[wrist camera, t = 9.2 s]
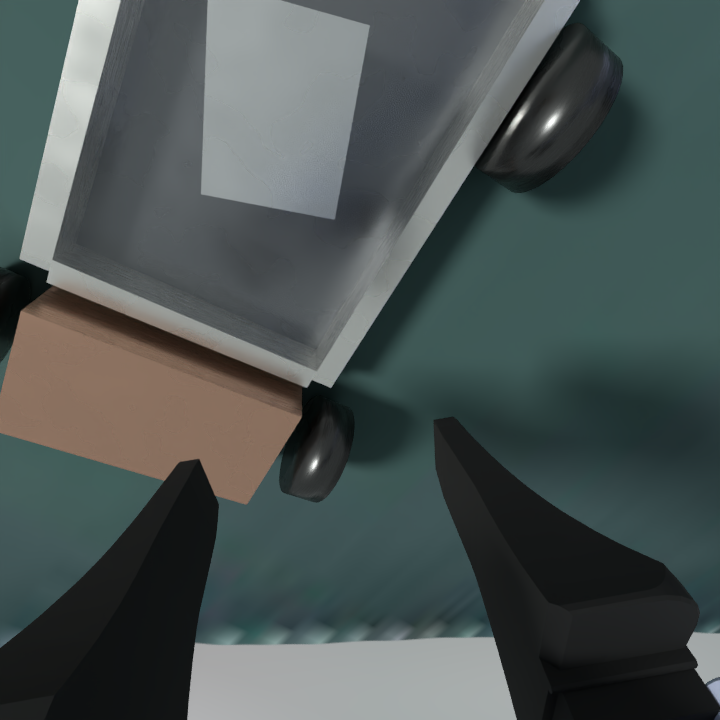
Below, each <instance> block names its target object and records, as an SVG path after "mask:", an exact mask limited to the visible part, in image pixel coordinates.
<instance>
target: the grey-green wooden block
mask: <svg viewBox="0 0 720 720" xmlns="http://www.w3.org/2000/svg"><path fill="white" fill-rule="evenodd" d="M369 28H370V25H367V24H363V23H360V22H356V21H352V20H349V19H345V18H342V17H338V16H335V15H331V14H328V13H324V12H321V11H317V10H314V9H310V8H306V7H303V6H299V5H296V4H292V3H289V2H285V1H282V0H208V6H207V35H206V64H205V92H204V121H203V150H202V179H201V194H202V195H208V196H213V197H218V198H223V199H229V200H234V201H239V202H244V203H249V204H255V205H260V206H265V207H270V208H276V209H281V210H286V211H291V212H296V213H302V214H307V215H312V216H317V217H323V218H328V219H333V220H335V215H336V210H337V204H338V199H339V193H340V188H341V182H342V177H343V171H344V166H345V160H346V155H347V149H348V143H349V138H350V132H351V127H352V121H353V116H354V110H355V105H356V99H357V94H358V88H359V83H360V77H361V72H362V66H363V61H364V55H365V50H366V44H367V39H368V33H369Z"/></svg>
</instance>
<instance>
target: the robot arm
mask: <svg viewBox="0 0 720 720" xmlns="http://www.w3.org/2000/svg"><path fill="white" fill-rule="evenodd" d="M434 442H435V464H436V471H437V475H438V478H439V482H440V485H441V489H442V492H443V496H444V499H445V501H446V504H447V506H448V509H449V511H450V514H451V516H452V519H453V521H454V524H455V526H456V528H457V531H458V533H459V536H460V538H461V540H462V543H463V545H464V548H465V550H466V553H467V555H468V557H469V560H470V562H471V565H472V568H473V570H474V573H475V576H476V579H477V582H478V585H479V588H480V592H481V595H482V598H483V601H484V605H485V608H486V611H487V615H488V618H489V621H490V625H491V628H492V632H493V635H494V638H495V642H496V645H497V649H498V652H499V656H500V659H501V663H502V667H503V670H504V674H505V677H506V681H507V684H508V688H509V691H510V695H511V699H512V703H513V707H514V710H515V714H516V718H517V720H720V677H718V678H715V679H713V680H711V681H709V682H707V683H706V684H704V682H703V681H702V679H701V678H700V676H699V675H698V673H697V672H696V670H695V669H694V668H697V666H698V664H697V661H696V659H695V658H694V656H693V655H692V654H691V652H690V650H689V649H688V648H687V646H686V644H687V643H688V641H689V639H690V637H691V635H692V633H693V631H694V629H695V627H696V625H697V622H698V618H699V614H700V612H699V608H698V605H697V603H696V602H695V601H694V600H693V598H692V597H691V596H690V594H689V593H688V592H687V590H686V589H685V588H684V586H683V585H682V584H681V583H680V582H679V580H678V579H677V578H676V577H675V576H674V575H673V574H672V573H671V572H670V571H669V570H668V568H667V567H666V566H665V565H664V564H663V563H661V562H659V561H656V560H654V559H652V558H650V557H648V556H645V555H643V554H641V553H639V552H637V551H634V550H632V549H630V548H628V547H625V546H623V545H621V544H619V543H617V542H615V541H613V540H611V539H610V538H608V537H606V536H604V535H602V534H600V533H598V532H596V531H594V530H593V529H591V528H589V527H587V526H586V525H584V524H582V523H581V522H579V521H577V520H576V519H574V518H572V517H571V516H569V515H567V514H566V513H564V512H562V511H561V510H559V509H558V508H556V507H555V506H553V505H552V504H550V503H549V502H548V501H546V500H545V499H543V498H542V497H541V496H539V495H538V494H536V493H535V492H534V491H532V490H531V489H530V488H528V487H527V486H526V485H525V484H523V483H522V482H521V481H520V480H518V479H517V478H516V477H515V476H514V475H512V474H511V473H510V472H509V471H508V470H507V469H505V468H504V467H503V466H502V465H501V464H500V463H499V462H498V461H497V460H496V459H495V458H493V457H492V456H491V455H490V454H489V453H488V452H487V451H486V450H485V449H484V448H483V447H482V446H481V445H480V444H479V443H478V442H477V441H476V440H475V439H474V438H473V437H472V436H471V435H470V434H469V433H468V432H467V430H466V429H465V428H464V427H463V426H462V425H461V424H460V423H459V421H458V420H457V419H456V418H454V417H449V418H443V419H437V420H434ZM218 509H219V504H218V501H217V499H216V497H215V494H214V492H213V490H212V487H211V485H210V483H209V480H208V478H207V476H206V473H205V471H204V469H203V466H202V464H201V462H200V459H194V460H188V461H182V462H179V463H178V464H177V465H176V467H175V468H174V469H173V471H172V472H171V473H170V474H169V476H168V477H167V478H166V480H165V481H164V482H163V484H162V485H161V486H160V488H159V489H158V490H157V492H156V493H155V494H154V495H153V497H152V498H151V499H150V501H149V502H148V503H147V504H146V506H145V507H144V508H143V510H142V511H141V512H140V513H139V515H138V516H137V517H136V518H135V520H134V521H133V522H132V523H131V524H130V526H129V527H128V528H127V529H126V530H125V531H124V533H123V534H122V535H121V536H120V537H119V538H118V540H117V541H116V542H115V543H114V544H113V545H112V547H111V548H110V549H109V550H108V551H107V552H106V553H105V554H104V555H103V556H102V558H101V559H100V560H99V561H98V562H97V563H96V564H95V565H94V566H93V567H92V568H91V569H90V570H89V571H88V572H87V573H86V574H85V575H84V576H83V577H82V578H81V579H80V580H79V581H78V582H77V583H76V584H75V585H74V586H73V587H71V588H70V589H69V590H68V591H67V592H66V593H65V594H64V595H63V596H62V597H60V598H59V599H58V600H57V601H56V602H55V603H54V604H53V605H52V606H50V607H49V608H48V609H47V610H46V611H45V612H44V613H43V614H42V615H40V616H39V617H38V618H37V619H36V620H34V621H33V622H32V623H31V624H30V625H28V626H27V627H26V628H25V629H24V630H22V631H21V632H20V633H19V634H17V635H16V636H15V637H14V638H12V639H11V640H10V641H9V642H7V643H6V644H5V645H3V646H2V647H1V648H0V720H187V714H188V701H189V691H190V680H191V671H192V661H193V653H194V645H195V637H196V629H197V623H198V617H199V612H200V607H201V603H202V598H203V594H204V589H205V585H206V580H207V576H208V571H209V567H210V563H211V558H212V553H213V549H214V544H215V539H216V532H217V522H218Z"/></svg>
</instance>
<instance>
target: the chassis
mask: <svg viewBox="0 0 720 720" xmlns="http://www.w3.org/2000/svg"><path fill="white" fill-rule="evenodd" d="M282 1H285V2H289V3H292V4H296V5H299V6H303V7H306V8H310V9H314V10H317V11H321V12H324V13H328V14H331V15H335V16H338V17H342V18H345V19H349V20H352V21H356V22H360V23H363V24H367V25H370V28H369V33H368V39H367V44H366V50H365V55H364V61H363V66H362V72H361V77H360V83H359V88H358V94H357V99H356V105H355V110H354V116H353V121H352V127H351V132H350V138H349V143H348V149H347V155H346V160H345V166H344V171H343V177H342V182H341V188H340V193H339V199H338V204H337V210H336V215H335V220H333V219H328V218H323V217H317V216H312V215H307V214H302V213H296V212H291V211H286V210H281V209H276V208H270V207H265V206H260V205H255V204H249V203H244V202H239V201H234V200H229V199H223V198H218V197H213V196H208V195H202V194H201V179H202V150H203V121H204V92H205V64H206V35H207V6H208V0H79V2H78V6H77V11H76V15H75V19H74V24H73V28H72V32H71V37H70V41H69V45H68V50H67V54H66V59H65V63H64V67H63V72H62V76H61V80H60V85H59V89H58V93H57V98H56V102H55V106H54V111H53V115H52V119H51V124H50V128H49V132H48V137H47V141H46V145H45V150H44V154H43V159H42V163H41V167H40V172H39V176H38V180H37V185H36V189H35V193H34V198H33V202H32V206H31V211H30V215H29V219H28V224H27V228H26V232H25V237H24V241H23V246H22V250H21V254H20V259H21V260H23V261H26V262H28V263H30V264H33V265H35V266H38V267H40V268H42V269H45V270H47V271H49V274H48V278H47V281H46V283H49V284H51V285H53V286H52V287H51V288H50V289H48V290H47V291H46V292H44V293H43V294H42V295H41V296H39V297H38V298H37V299H35V300H34V301H33V302H32V303H30V304H29V301H30V284H29V281H28V279H27V278H26V277H24V276H22V275H19V274H17V273H14V272H12V271H9V270H7V269H4V268H2V267H0V363H1V361H2V360H3V358H4V357H5V356H6V354H7V353H8V351H9V349H10V348H11V346H12V349H11V353H10V357H9V362H8V366H7V370H6V374H5V378H4V382H3V386H2V390H1V394H0V433H3V434H6V435H10V436H13V437H16V438H20V439H23V440H27V441H30V442H34V443H37V444H40V445H44V446H47V447H51V448H54V449H58V450H61V451H64V452H68V453H71V454H75V455H78V456H82V457H85V458H88V459H92V460H95V461H99V462H102V463H106V464H109V465H112V466H116V467H119V468H123V469H126V470H130V471H133V472H136V473H140V474H143V475H147V476H150V477H154V478H157V479H160V480H164V481H165V480H166V478H167V477H168V476H169V474H170V473H171V472H172V471H173V469H174V468H175V467H176V465H177V464H178V463H179V462H182V461H188V460H194V459H200V462H201V464H202V466H203V469H204V471H205V473H206V476H207V478H208V480H209V483H210V485H211V487H212V490H213V492H214V494H215V496H219V497H222V498H225V499H229V500H232V501H236V502H239V503H243V504H246V505H247V504H248V502H249V500H250V499H251V497H252V496H253V494H254V492H255V491H256V489H257V488H258V486H259V484H260V483H261V481H262V480H263V478H264V477H265V475H266V473H267V472H268V470H269V469H270V467H271V465H272V464H273V462H274V461H275V459H276V457H277V456H278V454H279V453H280V451H281V450H282V448H283V446H284V445H285V443H286V442H287V444H286V447H285V451H284V454H283V458H282V462H281V468H280V476H279V483H280V488H281V491H282V492H283V493H286V494H289V495H292V496H295V497H299V498H302V499H305V500H308V501H312V502H316V503H317V502H320V501H322V500H323V499H325V498H326V497H327V496H328V495H329V494H330V492H331V491H332V490H333V488H334V487H335V485H336V484H337V482H338V480H339V478H340V476H341V474H342V472H343V470H344V468H345V465H346V462H347V460H348V457H349V454H350V450H351V446H352V441H353V436H354V416H353V412H352V410H351V409H350V408H349V407H347V406H344V405H342V404H339V403H337V402H334V401H332V400H329V399H327V398H324V397H322V396H315V397H314V398H312V399H311V400H310V401H309V402H308V403H307V405H306V406H305V407H304V409H303V410H302V386H303V387H306V388H307V387H308V385H309V384H310V382H311V380H313V381H316V382H318V383H320V384H323V385H325V386H328V387H330V388H331V387H332V386H333V384H334V383H335V381H336V379H337V378H338V376H339V375H340V373H341V372H342V370H343V369H344V367H345V365H346V364H347V362H348V361H349V359H350V358H351V356H352V355H353V353H354V351H355V350H356V348H357V347H358V345H359V344H360V342H361V341H362V339H363V337H364V336H365V334H366V333H367V331H368V330H369V328H370V327H371V325H372V323H373V322H374V320H375V319H376V317H377V316H378V314H379V313H380V311H381V309H382V308H383V306H384V305H385V303H386V302H387V300H388V299H389V297H390V295H391V294H392V292H393V291H394V289H395V288H396V286H397V285H398V283H399V281H400V280H401V278H402V277H403V275H404V274H405V272H406V271H407V269H408V267H409V266H410V264H411V263H412V261H413V260H414V258H415V257H416V255H417V253H418V252H419V250H420V249H421V247H422V246H423V244H424V243H425V241H426V239H427V238H428V236H429V235H430V233H431V232H432V230H433V229H434V227H435V225H436V224H437V222H438V221H439V219H440V218H441V216H442V215H443V213H444V211H445V210H446V208H447V207H448V205H449V204H450V202H451V201H452V199H453V197H454V196H455V194H456V193H457V191H458V190H459V188H460V187H461V185H462V184H463V182H464V180H465V179H466V177H467V176H468V174H469V173H470V171H471V170H472V168H473V166H474V165H475V166H476V167H477V168H478V169H479V170H481V171H482V172H484V173H485V174H487V175H488V176H490V177H491V178H492V179H494V180H495V181H497V182H498V183H500V184H501V185H503V186H504V187H506V188H507V189H508V190H510V191H511V192H515V193H522V192H526V191H529V190H532V189H534V188H536V187H538V186H540V185H541V184H543V183H545V182H546V181H548V180H549V179H550V178H552V177H553V176H554V175H556V174H557V173H558V172H559V171H561V170H562V169H563V168H564V167H565V166H566V165H567V164H568V163H569V162H570V161H571V160H572V159H573V158H574V157H575V156H576V155H577V154H578V153H579V152H580V151H581V150H582V148H583V147H584V146H585V145H586V144H587V143H588V141H589V140H590V139H591V137H592V136H593V135H594V134H595V132H596V131H597V129H598V128H599V126H600V125H601V124H602V122H603V120H604V119H605V117H606V115H607V114H608V112H609V110H610V108H611V107H612V105H613V103H614V101H615V98H616V96H617V94H618V91H619V88H620V85H621V81H622V77H623V65H622V61H621V60H620V58H619V57H618V56H617V55H616V54H615V53H613V52H612V51H611V50H610V49H609V48H608V47H607V46H606V45H605V44H604V43H603V42H602V41H601V40H599V39H598V38H597V37H596V36H595V35H594V34H593V33H592V32H591V31H590V30H589V29H588V28H587V27H585V26H584V25H583V24H581V23H574V24H571V25H568V26H566V27H564V28H563V26H564V25H565V23H566V22H567V20H568V19H569V17H570V16H571V14H572V12H573V11H574V9H575V8H576V6H577V5H578V3H579V2H580V0H282ZM12 344H13V345H12ZM288 438H289V439H288ZM287 440H288V441H287Z"/></svg>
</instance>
